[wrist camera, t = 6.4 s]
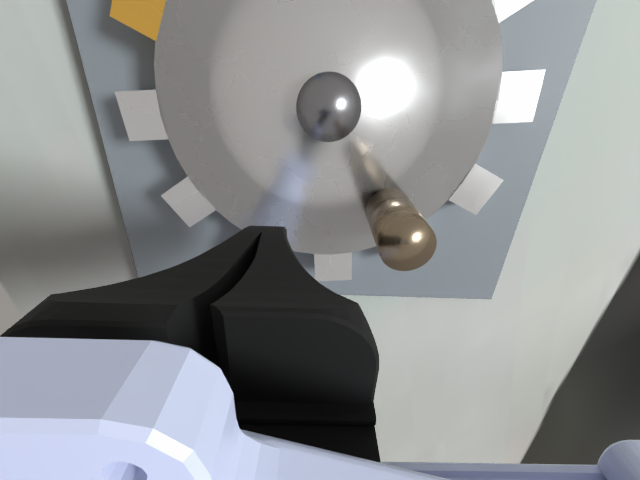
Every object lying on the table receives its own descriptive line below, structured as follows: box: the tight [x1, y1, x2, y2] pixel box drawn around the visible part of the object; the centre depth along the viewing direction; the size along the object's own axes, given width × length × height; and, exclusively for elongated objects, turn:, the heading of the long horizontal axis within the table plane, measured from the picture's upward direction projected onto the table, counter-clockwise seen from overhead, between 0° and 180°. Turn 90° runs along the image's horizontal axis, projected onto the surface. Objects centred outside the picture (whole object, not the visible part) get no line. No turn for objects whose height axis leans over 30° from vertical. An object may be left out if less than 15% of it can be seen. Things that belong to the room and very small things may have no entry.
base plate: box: [66, 0, 596, 299], centre depth 14 cm, size 20×20×1 cm
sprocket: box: [110, 0, 545, 281], centre depth 11 cm, size 16×16×5 cm
